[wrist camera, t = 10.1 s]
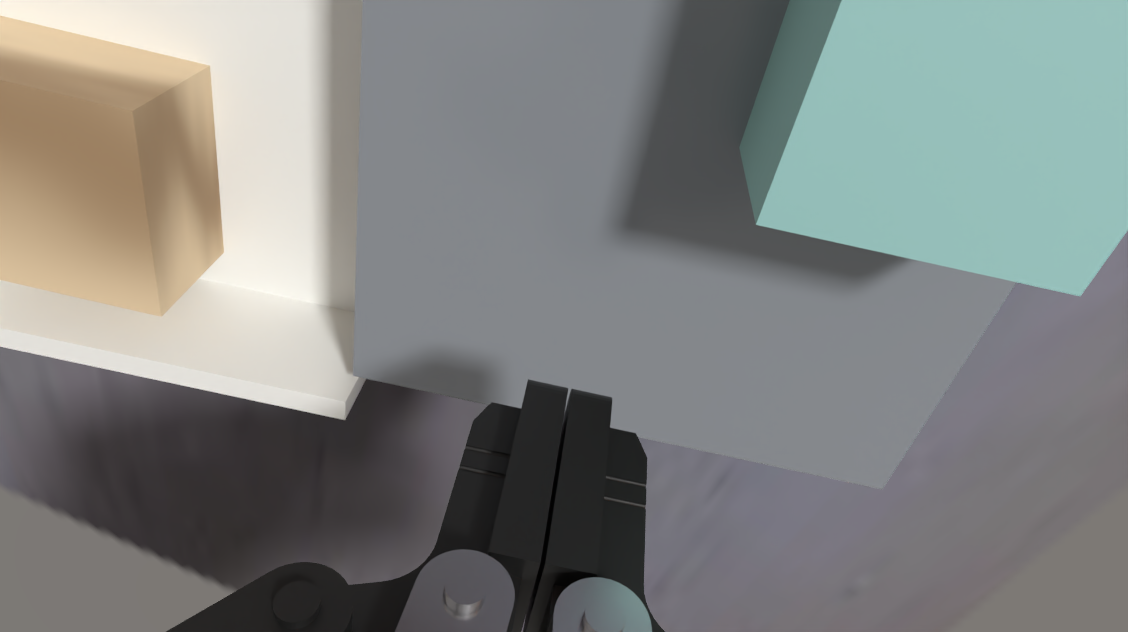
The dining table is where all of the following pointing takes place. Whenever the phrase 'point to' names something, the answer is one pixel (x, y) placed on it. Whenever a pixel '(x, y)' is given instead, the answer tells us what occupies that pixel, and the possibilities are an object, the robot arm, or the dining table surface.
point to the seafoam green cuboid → (949, 133)
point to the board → (628, 237)
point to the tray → (238, 207)
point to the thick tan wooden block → (105, 169)
